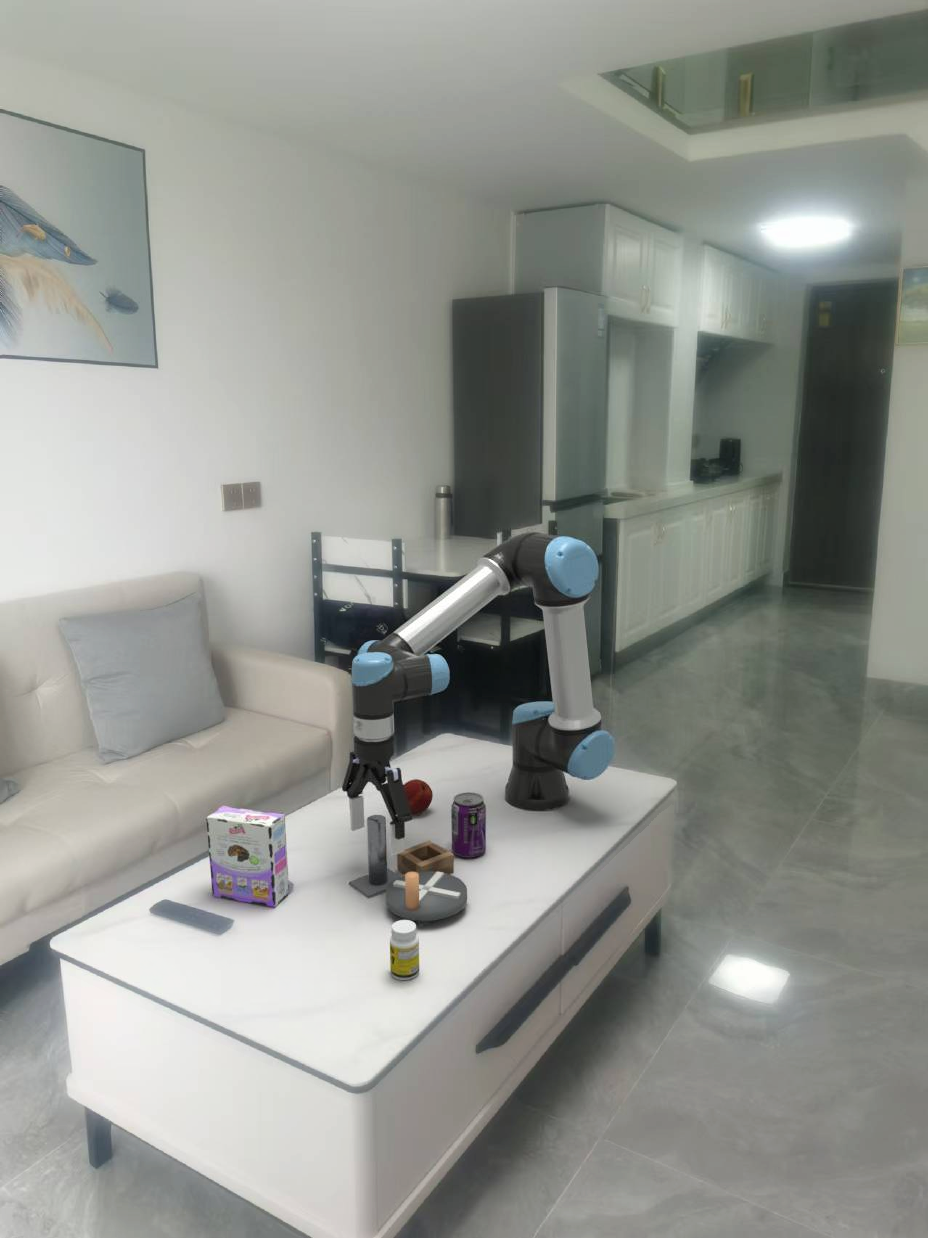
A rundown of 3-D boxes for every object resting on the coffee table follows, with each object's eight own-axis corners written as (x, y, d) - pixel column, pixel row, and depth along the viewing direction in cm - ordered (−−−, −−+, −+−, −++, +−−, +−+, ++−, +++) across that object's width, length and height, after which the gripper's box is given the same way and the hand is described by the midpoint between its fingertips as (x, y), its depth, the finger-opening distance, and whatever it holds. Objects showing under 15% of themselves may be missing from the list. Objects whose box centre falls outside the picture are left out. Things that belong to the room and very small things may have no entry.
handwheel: (479, 887, 174) (479, 849, 173) (447, 927, 161) (447, 886, 159) (407, 873, 180) (406, 836, 178) (371, 910, 166) (370, 871, 165)
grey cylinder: (380, 874, 182) (379, 813, 179) (391, 881, 179) (389, 819, 176) (365, 880, 180) (363, 818, 177) (375, 887, 177) (373, 824, 174)
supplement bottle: (390, 964, 153) (389, 918, 151) (418, 963, 154) (418, 917, 152) (390, 982, 148) (389, 934, 147) (419, 980, 149) (419, 933, 147)
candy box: (290, 893, 176) (286, 813, 172) (274, 909, 171) (270, 826, 167) (228, 882, 180) (222, 803, 177) (210, 897, 175) (204, 816, 171)
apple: (419, 822, 206) (419, 788, 205) (391, 814, 210) (390, 781, 209) (438, 810, 213) (437, 777, 211) (410, 803, 217) (409, 771, 215)
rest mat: (387, 870, 185) (386, 867, 185) (407, 883, 180) (407, 880, 179) (348, 884, 179) (348, 881, 179) (368, 898, 174) (368, 895, 174)
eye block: (429, 858, 190) (429, 840, 189) (453, 873, 184) (453, 854, 183) (397, 870, 185) (397, 852, 184) (421, 885, 179) (421, 866, 178)
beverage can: (482, 861, 188) (482, 806, 186) (448, 858, 190) (447, 804, 187) (488, 846, 195) (488, 792, 192) (455, 843, 196) (455, 790, 194)
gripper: (322, 723, 180) (326, 824, 185) (396, 758, 161) (398, 870, 166) (354, 715, 185) (358, 814, 189) (430, 749, 166) (431, 857, 170)
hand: (376, 840), depth 177 cm, fingers open, 13 cm apart
